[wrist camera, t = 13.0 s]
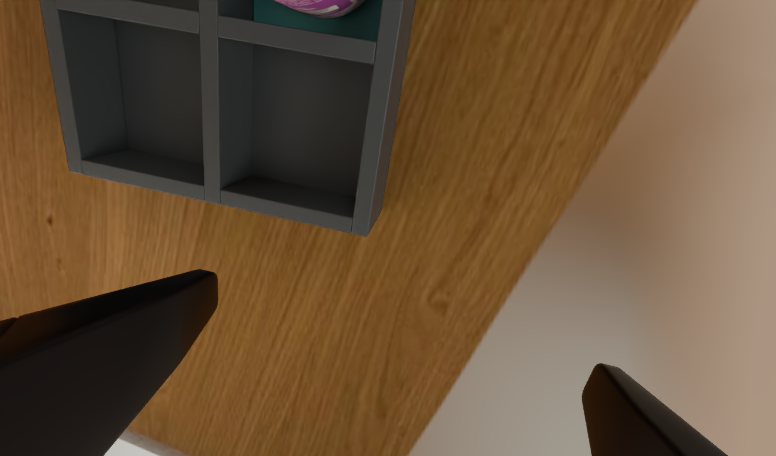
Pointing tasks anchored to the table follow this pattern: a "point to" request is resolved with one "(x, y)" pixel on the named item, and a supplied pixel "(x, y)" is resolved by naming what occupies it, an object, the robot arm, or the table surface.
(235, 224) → the table surface
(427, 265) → the table surface
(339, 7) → the pill bottle
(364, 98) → the compartment tray
